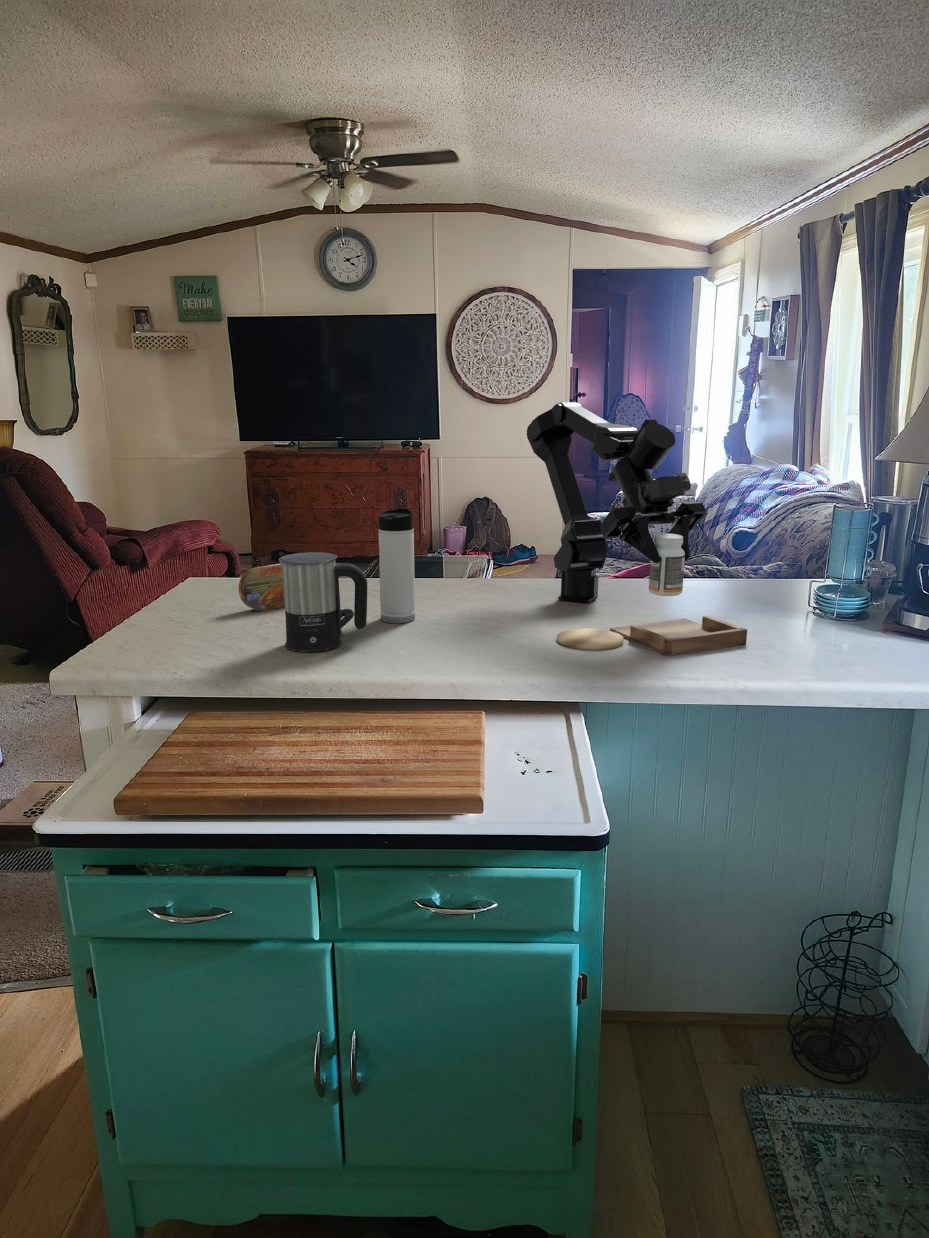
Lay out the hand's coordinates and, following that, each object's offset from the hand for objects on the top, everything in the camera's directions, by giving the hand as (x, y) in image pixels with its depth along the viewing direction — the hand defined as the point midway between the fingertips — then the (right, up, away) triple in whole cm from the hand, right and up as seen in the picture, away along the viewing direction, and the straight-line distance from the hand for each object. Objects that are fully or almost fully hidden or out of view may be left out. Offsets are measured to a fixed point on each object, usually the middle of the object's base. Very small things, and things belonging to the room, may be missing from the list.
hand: (672, 560), depth 147 cm
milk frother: (-59, -13, +1) cm, 61 cm away
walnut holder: (+1, -13, +1) cm, 13 cm away
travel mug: (-47, -10, +14) cm, 50 cm away
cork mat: (-14, -13, 0) cm, 19 cm away
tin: (-71, -8, +23) cm, 75 cm away
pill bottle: (-1, -6, +3) cm, 6 cm away
